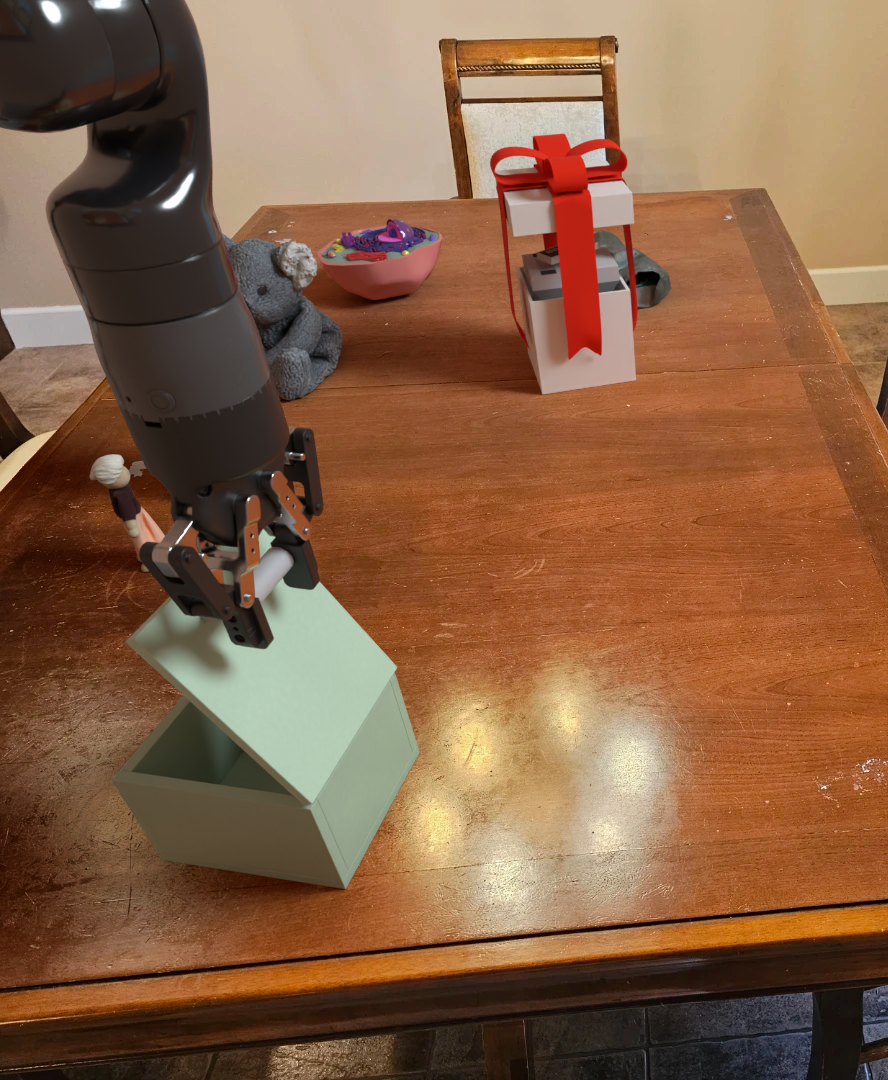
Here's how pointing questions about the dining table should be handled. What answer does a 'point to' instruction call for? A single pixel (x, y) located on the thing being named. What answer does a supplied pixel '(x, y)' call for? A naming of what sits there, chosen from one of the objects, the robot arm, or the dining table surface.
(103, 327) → the robot arm
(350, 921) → the dining table surface
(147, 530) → the grandmother figurine
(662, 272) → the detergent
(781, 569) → the dining table surface
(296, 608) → the lid
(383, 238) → the cell model
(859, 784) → the dining table surface
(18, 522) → the dining table surface
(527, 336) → the white gift box
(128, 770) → the compartment
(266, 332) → the koala plush
